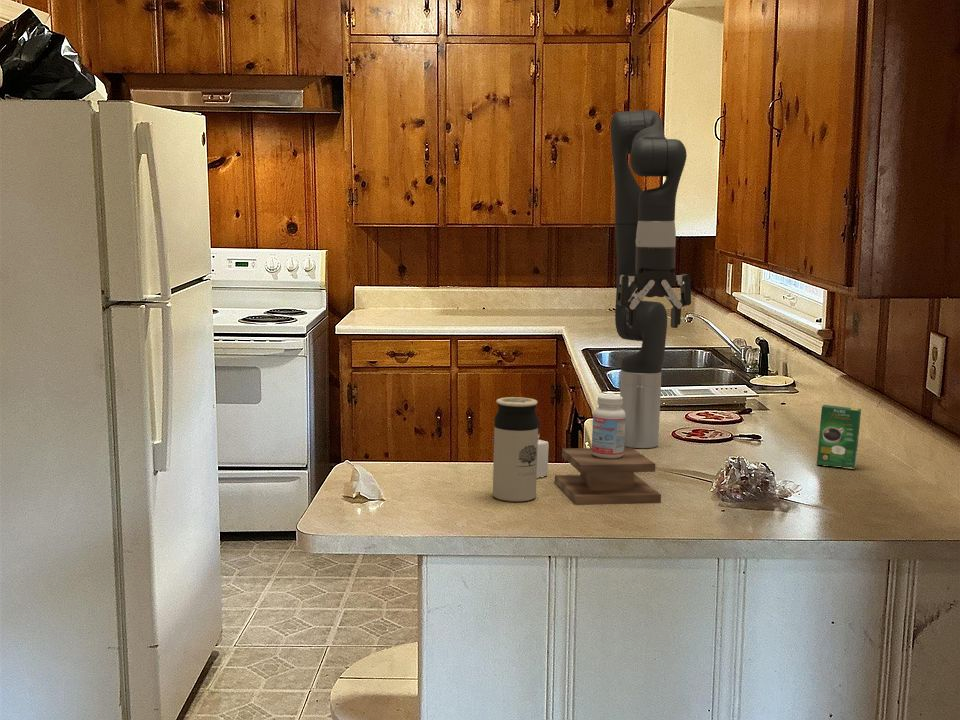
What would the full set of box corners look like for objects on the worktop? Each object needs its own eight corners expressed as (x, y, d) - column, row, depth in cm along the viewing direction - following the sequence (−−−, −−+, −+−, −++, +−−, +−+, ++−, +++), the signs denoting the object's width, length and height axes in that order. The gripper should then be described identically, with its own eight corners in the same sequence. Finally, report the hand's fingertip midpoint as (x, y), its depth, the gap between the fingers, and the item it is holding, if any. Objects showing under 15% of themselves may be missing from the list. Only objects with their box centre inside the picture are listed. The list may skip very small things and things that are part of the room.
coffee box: (857, 468, 221) (862, 407, 219) (855, 470, 218) (860, 409, 217) (818, 463, 225) (822, 403, 223) (816, 466, 222) (820, 405, 220)
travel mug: (485, 493, 193) (488, 397, 190) (524, 490, 196) (527, 396, 194) (503, 504, 185) (506, 405, 183) (543, 500, 189) (546, 402, 186)
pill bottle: (585, 455, 194) (587, 396, 193) (602, 450, 199) (605, 393, 198) (612, 460, 191) (615, 400, 189) (630, 455, 195) (632, 396, 194)
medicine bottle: (522, 470, 212) (523, 412, 211) (548, 476, 207) (550, 417, 206) (497, 475, 207) (499, 416, 206) (523, 482, 202) (525, 421, 201)
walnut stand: (554, 482, 202) (555, 447, 201) (633, 481, 205) (635, 446, 204) (575, 504, 186) (576, 466, 186) (660, 502, 189) (662, 464, 188)
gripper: (626, 245, 196) (624, 331, 198) (698, 245, 198) (695, 329, 200) (614, 244, 203) (612, 326, 205) (683, 243, 205) (681, 325, 208)
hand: (653, 327), depth 203 cm, fingers open, 8 cm apart
